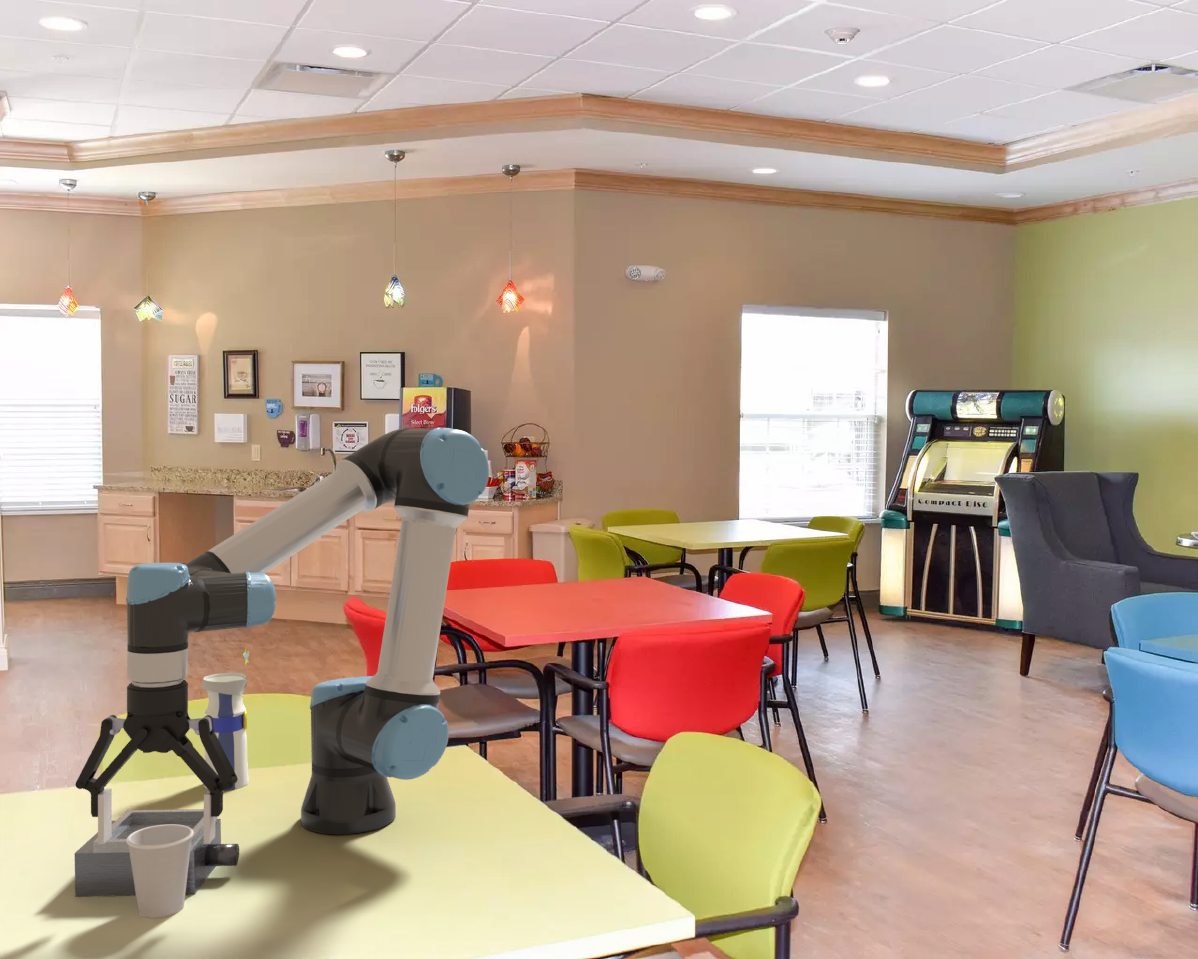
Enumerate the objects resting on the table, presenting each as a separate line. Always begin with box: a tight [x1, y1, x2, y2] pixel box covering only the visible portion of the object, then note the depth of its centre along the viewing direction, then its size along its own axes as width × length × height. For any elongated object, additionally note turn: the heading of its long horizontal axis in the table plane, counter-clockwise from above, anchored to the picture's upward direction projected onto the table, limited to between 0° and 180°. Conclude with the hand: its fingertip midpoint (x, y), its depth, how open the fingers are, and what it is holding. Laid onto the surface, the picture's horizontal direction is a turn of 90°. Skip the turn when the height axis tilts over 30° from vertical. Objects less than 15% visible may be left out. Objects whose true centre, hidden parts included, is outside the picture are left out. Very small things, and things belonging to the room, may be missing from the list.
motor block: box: [74, 808, 240, 898], centre depth 162 cm, size 20×13×8 cm, turn 93°
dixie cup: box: [126, 824, 194, 919], centre depth 151 cm, size 8×8×10 cm
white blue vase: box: [201, 646, 250, 792], centre depth 204 cm, size 8×9×25 cm
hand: (157, 840), depth 151 cm, fingers open, 13 cm apart
